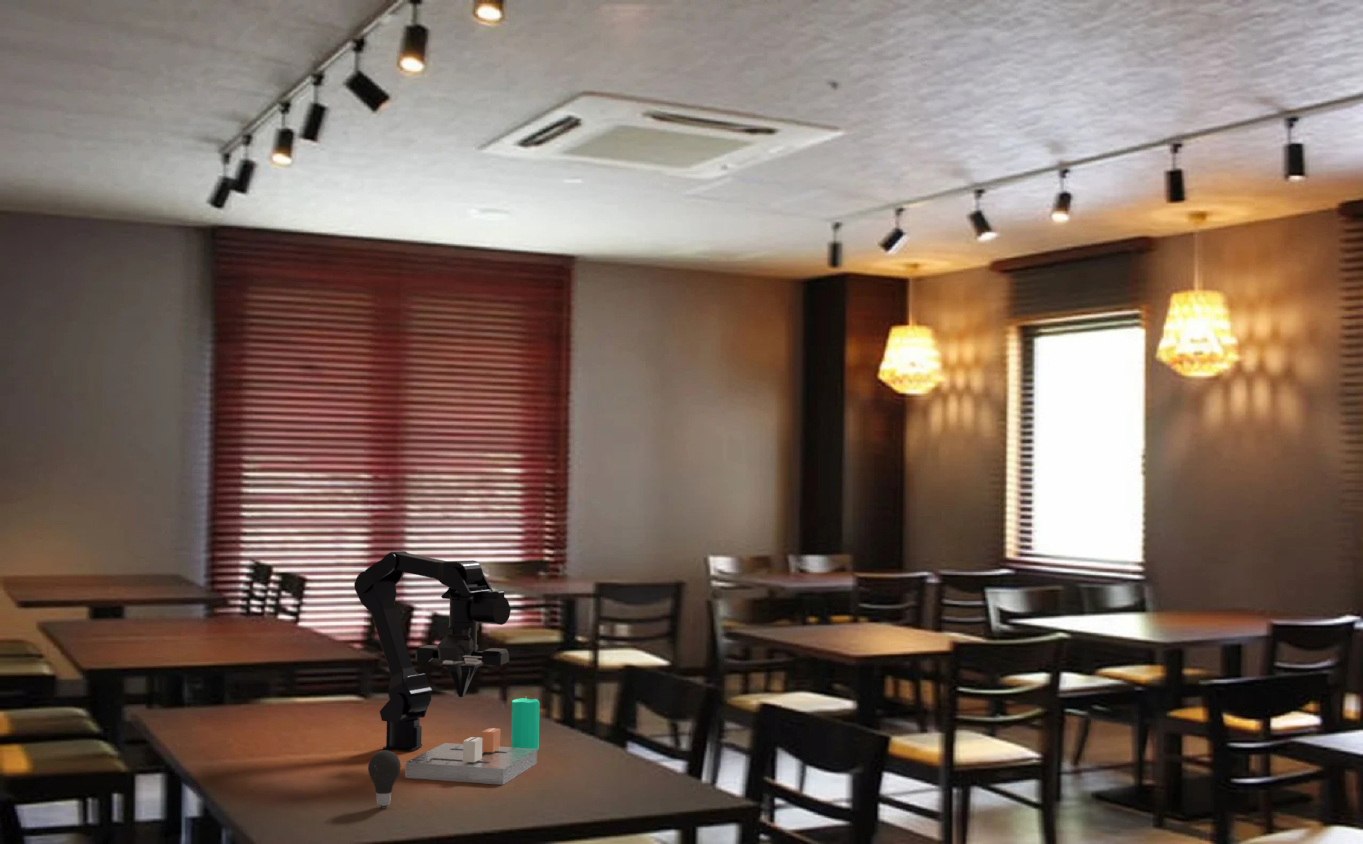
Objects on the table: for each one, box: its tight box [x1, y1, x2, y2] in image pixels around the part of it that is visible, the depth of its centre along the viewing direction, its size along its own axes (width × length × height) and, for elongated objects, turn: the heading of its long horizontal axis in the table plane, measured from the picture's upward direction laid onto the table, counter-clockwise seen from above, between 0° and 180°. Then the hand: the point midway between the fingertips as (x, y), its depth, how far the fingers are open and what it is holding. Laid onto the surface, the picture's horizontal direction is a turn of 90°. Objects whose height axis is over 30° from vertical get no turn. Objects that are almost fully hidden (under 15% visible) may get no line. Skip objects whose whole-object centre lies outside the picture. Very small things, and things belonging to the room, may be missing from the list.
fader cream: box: [462, 736, 482, 763], centre depth 275 cm, size 2×4×7 cm, turn 168°
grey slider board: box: [404, 742, 538, 786], centre depth 280 cm, size 20×20×3 cm
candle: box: [510, 697, 540, 752], centre depth 302 cm, size 6×6×12 cm
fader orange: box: [481, 727, 501, 753], centre depth 284 cm, size 2×4×7 cm, turn 167°
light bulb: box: [367, 750, 401, 809], centre depth 249 cm, size 6×6×10 cm
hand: (461, 697), depth 293 cm, fingers closed
